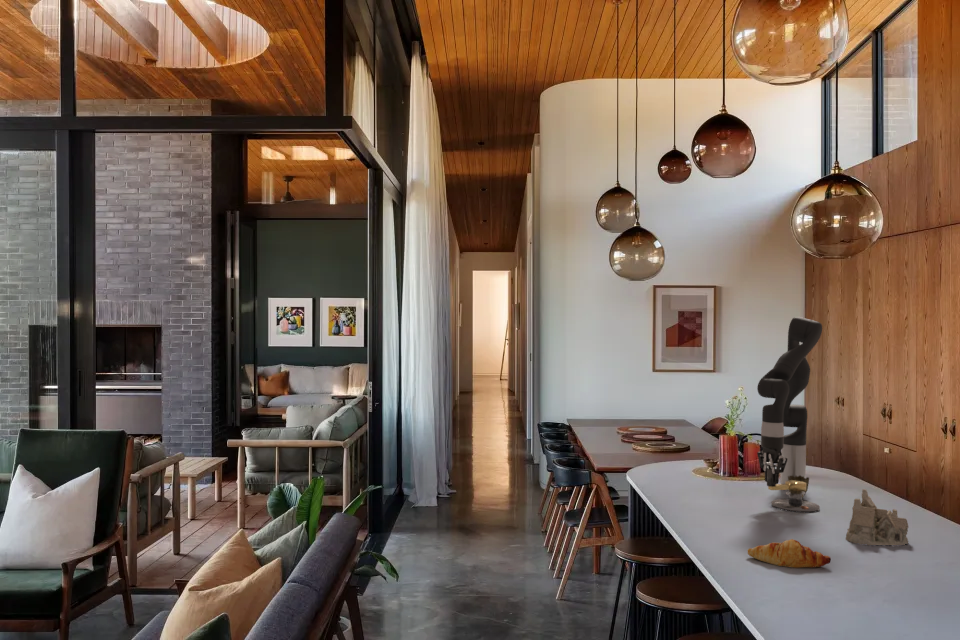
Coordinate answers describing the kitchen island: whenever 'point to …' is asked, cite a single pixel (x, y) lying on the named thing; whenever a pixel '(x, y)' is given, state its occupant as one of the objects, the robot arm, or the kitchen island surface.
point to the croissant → (789, 555)
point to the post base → (795, 503)
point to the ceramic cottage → (875, 524)
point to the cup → (799, 478)
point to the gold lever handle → (787, 486)
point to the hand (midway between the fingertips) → (771, 482)
